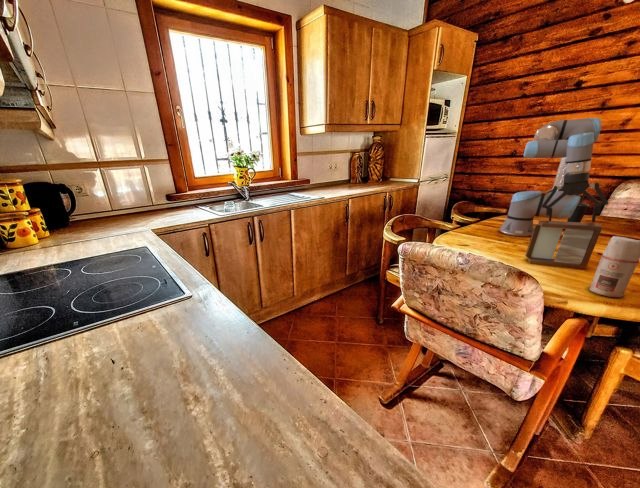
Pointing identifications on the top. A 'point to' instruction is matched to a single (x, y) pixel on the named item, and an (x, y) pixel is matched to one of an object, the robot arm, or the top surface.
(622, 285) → the spray can
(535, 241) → the door
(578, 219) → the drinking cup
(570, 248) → the showcase frame
